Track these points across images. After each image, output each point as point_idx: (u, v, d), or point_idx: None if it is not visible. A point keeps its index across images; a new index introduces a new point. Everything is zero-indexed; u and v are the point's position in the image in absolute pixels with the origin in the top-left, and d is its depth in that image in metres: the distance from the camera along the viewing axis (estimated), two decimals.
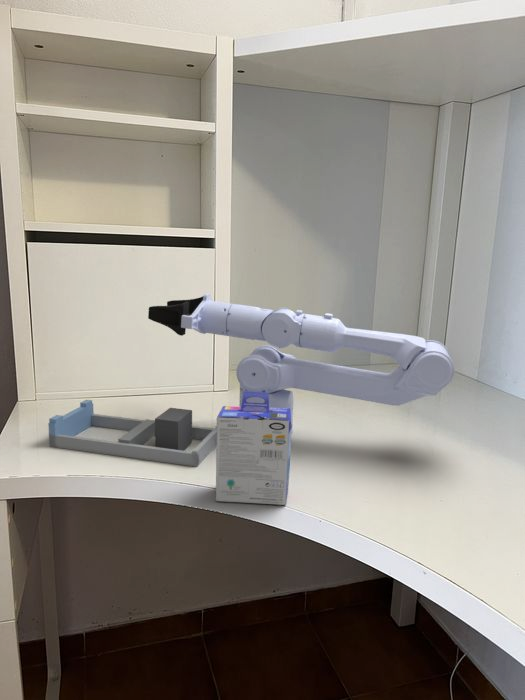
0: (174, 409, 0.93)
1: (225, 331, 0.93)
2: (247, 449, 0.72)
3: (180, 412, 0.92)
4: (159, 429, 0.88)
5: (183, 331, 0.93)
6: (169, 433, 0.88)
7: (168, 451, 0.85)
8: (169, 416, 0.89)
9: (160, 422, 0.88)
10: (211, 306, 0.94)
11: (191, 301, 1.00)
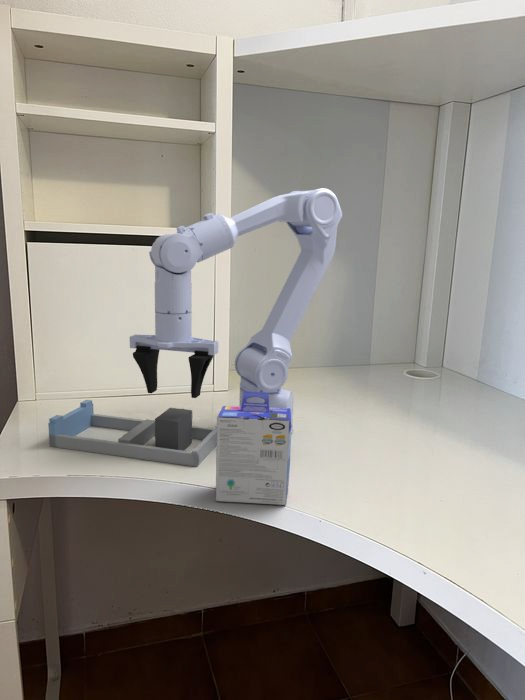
0: (174, 409, 0.93)
1: (190, 312, 0.88)
2: (247, 449, 0.72)
3: (179, 412, 0.92)
4: (159, 429, 0.88)
5: None
6: (169, 433, 0.88)
7: (168, 451, 0.85)
8: (169, 416, 0.89)
9: (160, 422, 0.88)
10: (178, 334, 0.85)
11: (148, 366, 0.88)
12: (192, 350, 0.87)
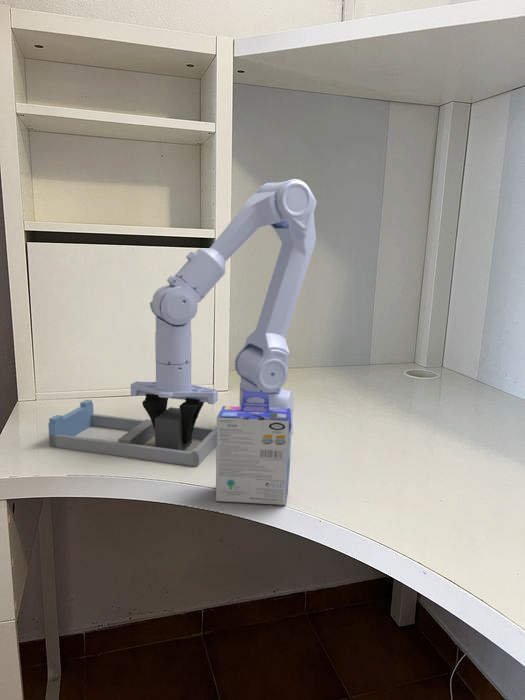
0: (174, 409, 0.93)
1: None
2: (247, 449, 0.72)
3: (179, 411, 0.92)
4: (159, 428, 0.88)
5: None
6: (169, 432, 0.88)
7: (168, 451, 0.85)
8: (169, 416, 0.89)
9: (160, 422, 0.88)
10: (178, 383, 0.87)
11: (157, 414, 0.89)
12: (192, 398, 0.89)
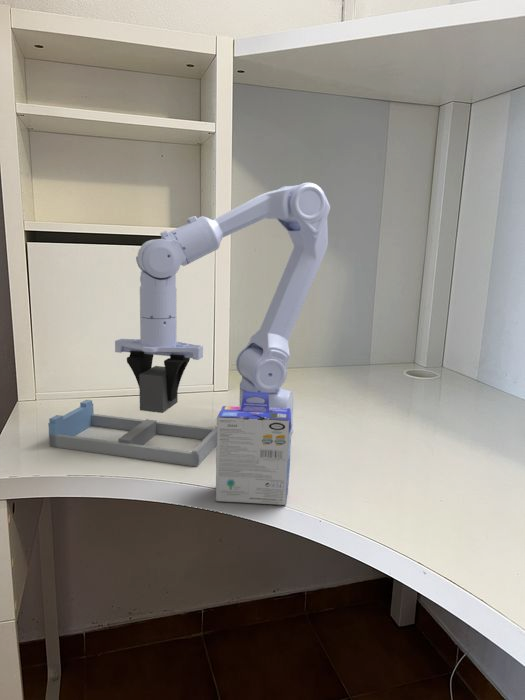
0: (159, 367, 0.92)
1: None
2: (247, 449, 0.72)
3: None
4: (143, 384, 0.87)
5: None
6: (154, 388, 0.87)
7: (168, 451, 0.85)
8: (153, 373, 0.88)
9: (145, 377, 0.87)
10: (163, 338, 0.86)
11: (142, 371, 0.88)
12: (177, 354, 0.88)
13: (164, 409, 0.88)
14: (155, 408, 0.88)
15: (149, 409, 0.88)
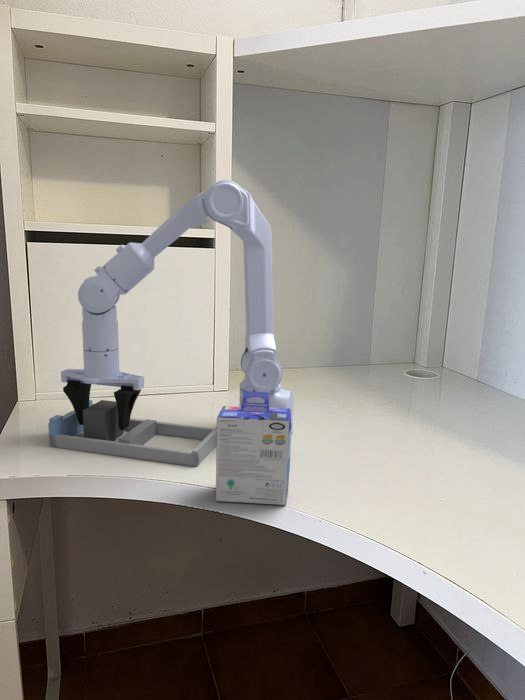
0: (105, 401, 0.96)
1: (118, 348, 0.92)
2: (247, 449, 0.72)
3: (109, 404, 0.95)
4: (87, 420, 0.91)
5: None
6: (96, 424, 0.91)
7: (168, 451, 0.85)
8: (97, 408, 0.92)
9: (88, 413, 0.91)
10: (104, 370, 0.89)
11: (78, 399, 0.93)
12: (119, 385, 0.92)
13: None
14: None
15: None
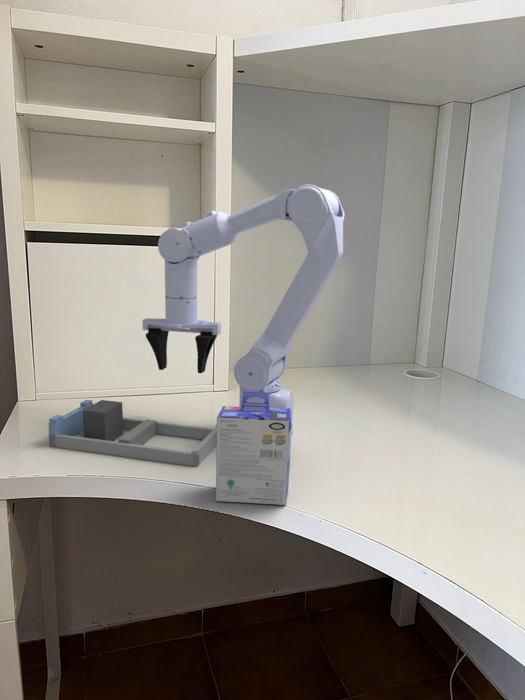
0: (105, 401, 0.96)
1: None
2: (247, 449, 0.72)
3: (109, 404, 0.95)
4: (87, 420, 0.91)
5: None
6: (96, 424, 0.91)
7: (168, 451, 0.85)
8: (97, 408, 0.92)
9: (88, 413, 0.91)
10: (186, 316, 0.97)
11: (159, 345, 1.00)
12: (198, 331, 0.99)
13: None
14: None
15: None
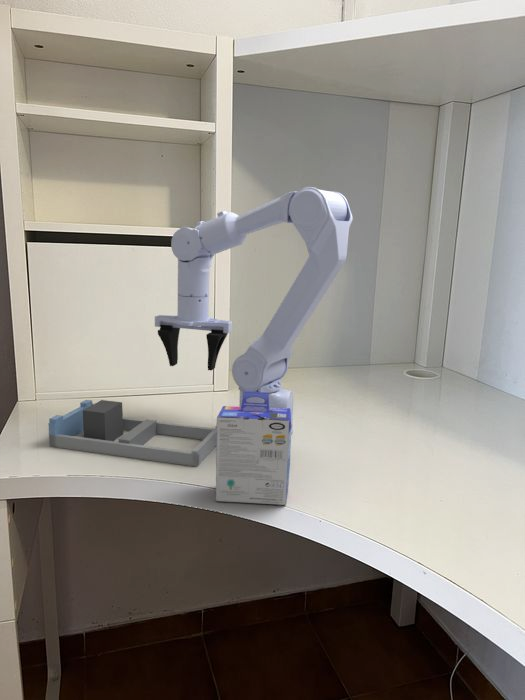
0: (105, 401, 0.96)
1: None
2: (247, 449, 0.72)
3: (109, 404, 0.95)
4: (87, 420, 0.91)
5: None
6: (96, 424, 0.91)
7: (168, 451, 0.85)
8: (97, 408, 0.92)
9: (88, 413, 0.91)
10: (197, 314, 0.99)
11: (170, 342, 1.02)
12: (209, 329, 1.01)
13: None
14: None
15: None
